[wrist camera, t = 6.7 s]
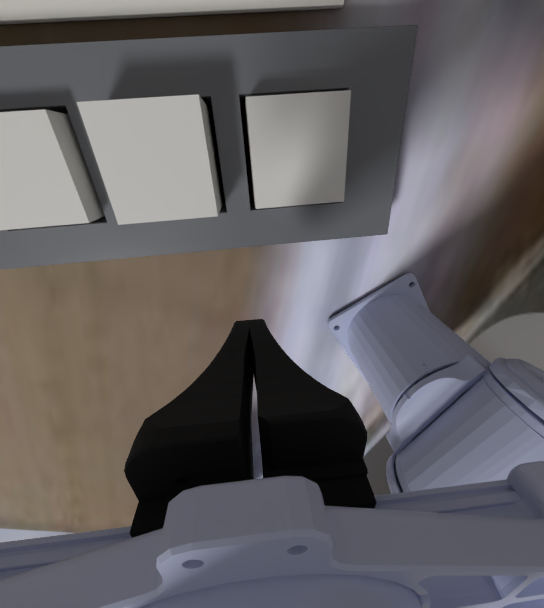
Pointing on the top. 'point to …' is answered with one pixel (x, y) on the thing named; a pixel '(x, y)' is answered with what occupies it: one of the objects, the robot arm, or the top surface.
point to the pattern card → (143, 8)
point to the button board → (220, 130)
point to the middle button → (155, 157)
